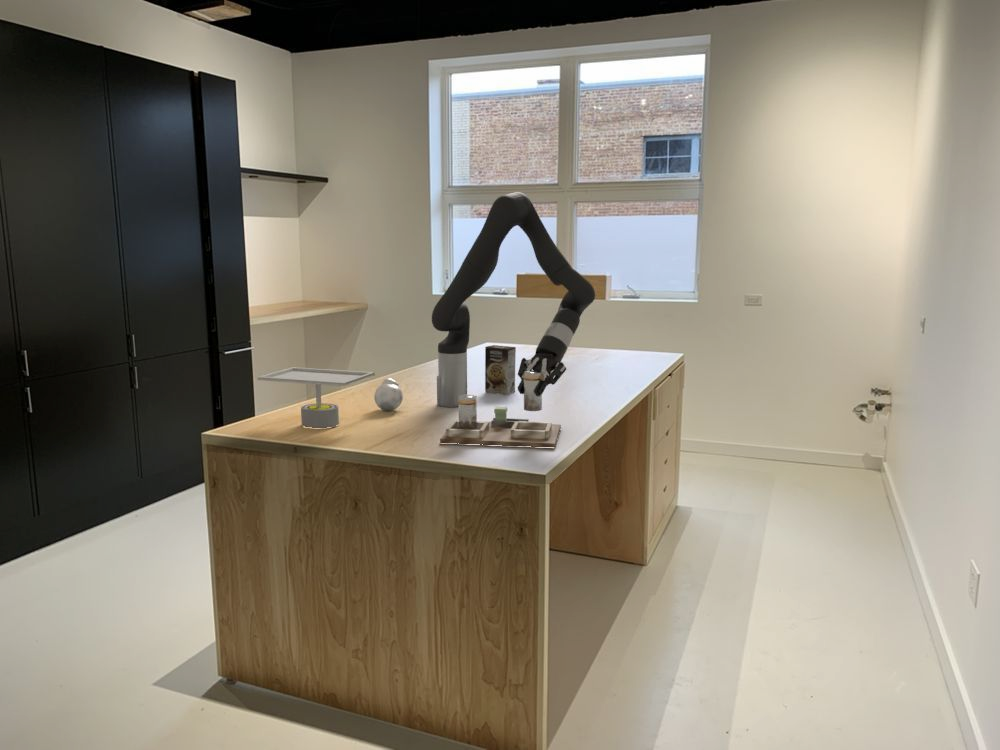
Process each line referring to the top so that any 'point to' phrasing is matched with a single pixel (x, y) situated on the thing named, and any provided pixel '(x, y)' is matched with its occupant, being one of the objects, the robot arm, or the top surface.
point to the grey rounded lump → (388, 395)
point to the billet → (532, 391)
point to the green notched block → (500, 413)
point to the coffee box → (500, 369)
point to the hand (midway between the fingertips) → (528, 393)
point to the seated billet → (468, 412)
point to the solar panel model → (318, 391)
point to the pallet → (505, 433)
